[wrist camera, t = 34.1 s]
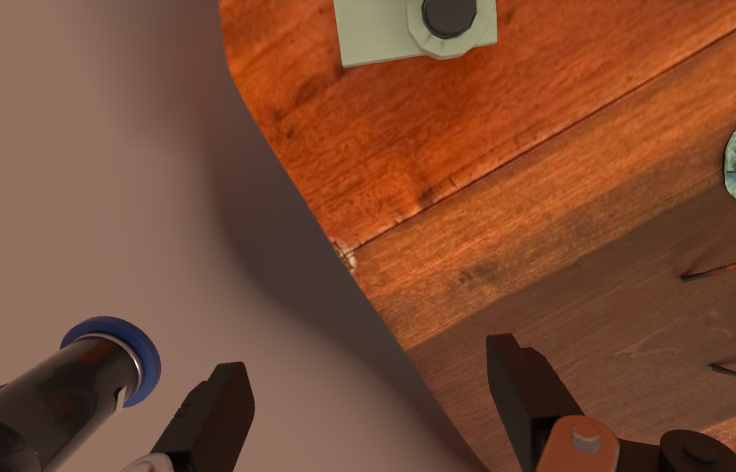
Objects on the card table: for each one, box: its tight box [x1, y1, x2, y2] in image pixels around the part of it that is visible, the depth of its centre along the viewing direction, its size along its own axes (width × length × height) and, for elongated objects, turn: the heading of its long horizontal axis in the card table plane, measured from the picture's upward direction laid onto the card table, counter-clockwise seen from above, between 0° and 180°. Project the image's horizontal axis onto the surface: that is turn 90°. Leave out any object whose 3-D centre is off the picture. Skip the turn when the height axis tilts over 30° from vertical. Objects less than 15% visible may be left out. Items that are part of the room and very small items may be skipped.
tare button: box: [425, 0, 476, 36], centre depth 30 cm, size 4×4×2 cm
